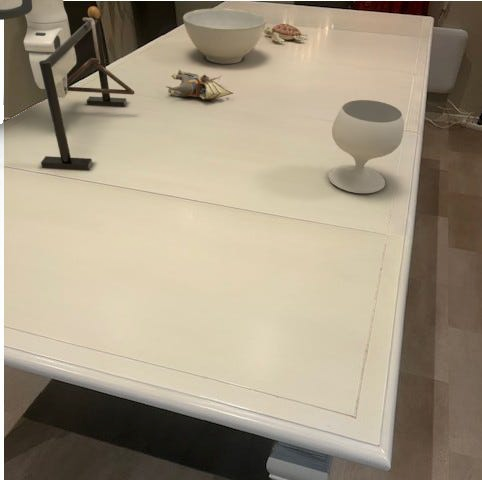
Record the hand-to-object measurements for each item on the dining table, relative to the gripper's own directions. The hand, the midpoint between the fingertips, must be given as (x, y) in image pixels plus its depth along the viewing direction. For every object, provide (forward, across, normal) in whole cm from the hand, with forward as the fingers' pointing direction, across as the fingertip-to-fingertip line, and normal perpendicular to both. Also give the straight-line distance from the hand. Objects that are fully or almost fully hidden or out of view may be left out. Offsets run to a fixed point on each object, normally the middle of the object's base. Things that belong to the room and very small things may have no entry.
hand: (63, 95), depth 119 cm
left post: (+5, -10, +8) cm, 14 cm away
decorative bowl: (+6, -56, +37) cm, 67 cm away
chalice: (+6, +26, +70) cm, 75 cm away
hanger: (0, -3, +8) cm, 8 cm away
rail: (+5, +8, +8) cm, 12 cm away
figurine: (+6, -19, +33) cm, 38 cm away
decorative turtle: (+5, -84, +59) cm, 103 cm away
